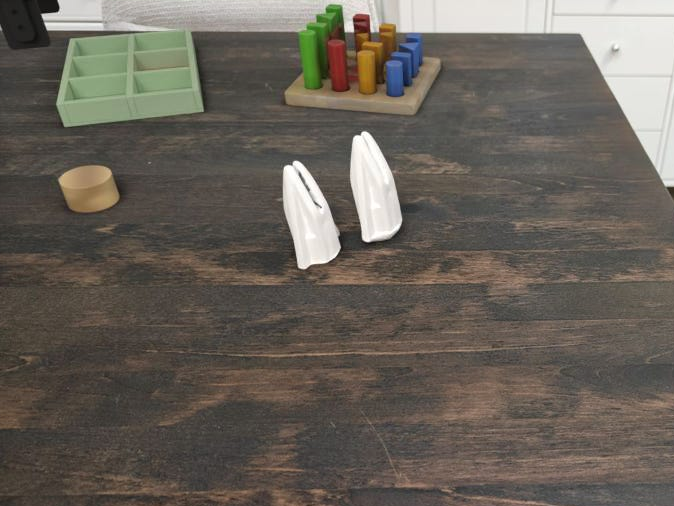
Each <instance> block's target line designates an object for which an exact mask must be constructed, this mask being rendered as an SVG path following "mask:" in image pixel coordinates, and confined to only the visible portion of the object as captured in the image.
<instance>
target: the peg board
mask: <svg viewBox="0 0 674 506" xmlns="http://www.w3.org/2000/svg"><path fill="white" fill-rule="evenodd" d="M343 9H344V8H343V5H342V4H337V3H336V4H335V3H329V4H328V5H326V7H325V13H324V12H323V13H318V14H316V15H315V20H316V21H309V22H307V24H306V29H301V30H299V31H298V33H297V35H298V42H299V50H300V58H301V67H302V72H301V74H300V75H299V76H298V77H296V79H295V80H294V81H293V82H292V83H291V84H290V86H289V87H288V88H287V89H286V90H285V91H284V94H283V95H284V101H285V104H286V105H287V106H294V107H295V106H297V107H308V108H319V109H333V110H344V111H345V110H346V111H355V112H367V113H368V112H369V113H379V114H393V115H402V116H403V115H404V116H414V115H416V114H417V113H418V111H419V108H420V107H421V105H422V103H423V101H424V100H425V99H426V96H427V94H428V92H429V91H430V89H431V87H432V86H433V83H434V82H435V80H436V78H437V76H438V74H439V72H441V71H440V70H441V69H442V67H441V65H442V61H441V59H440V58H439V57H438V58H437V57H428V56H423V34H422V33H420V32H419V33H418V32H408V33H407V34H406V35H405V42H404V43H399V44H397V42H398V41H397V40H398V39H397V25H396V23H386V22H384V23H383V22H382V23H381V24H380V25H379V27H378V36H379V42H378V41H377V42H376V41H372V31H371V15H370V14H367V13H356V14H354V15H353V16H352V26H353V36H354V48H355V50H347V41H346V30H345V19H344V18H345V17H344V10H343ZM397 45H398V46H397Z"/></svg>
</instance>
